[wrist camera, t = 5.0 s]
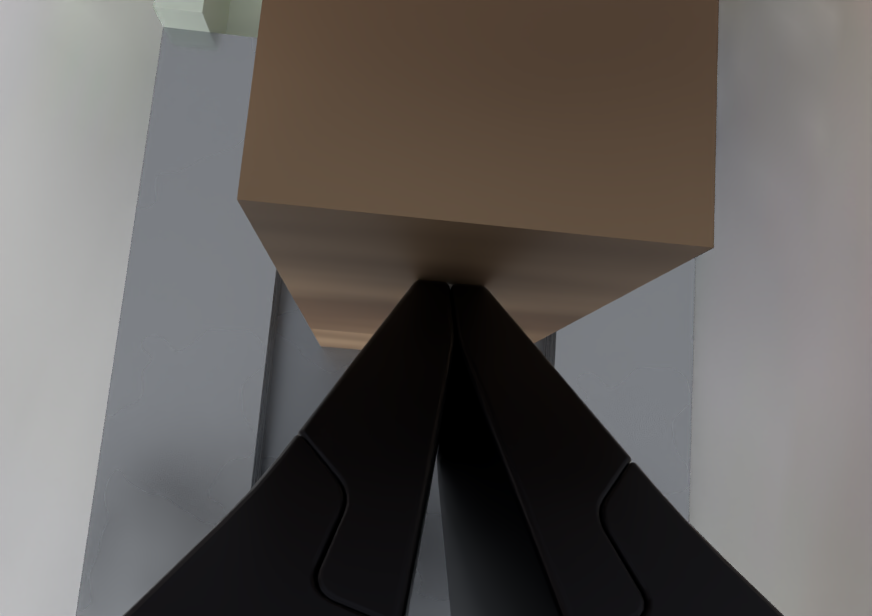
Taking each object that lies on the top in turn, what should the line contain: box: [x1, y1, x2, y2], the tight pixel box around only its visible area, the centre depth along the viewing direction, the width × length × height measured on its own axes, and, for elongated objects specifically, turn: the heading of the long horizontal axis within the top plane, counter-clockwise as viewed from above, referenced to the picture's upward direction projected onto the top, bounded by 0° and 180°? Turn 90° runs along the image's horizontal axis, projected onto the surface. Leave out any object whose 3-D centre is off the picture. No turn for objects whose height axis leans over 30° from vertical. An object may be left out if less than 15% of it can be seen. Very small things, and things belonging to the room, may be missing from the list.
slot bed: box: [76, 27, 695, 616], centre depth 17 cm, size 18×12×2 cm, turn 175°
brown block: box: [237, 0, 719, 350], centre depth 12 cm, size 8×4×11 cm, turn 175°
